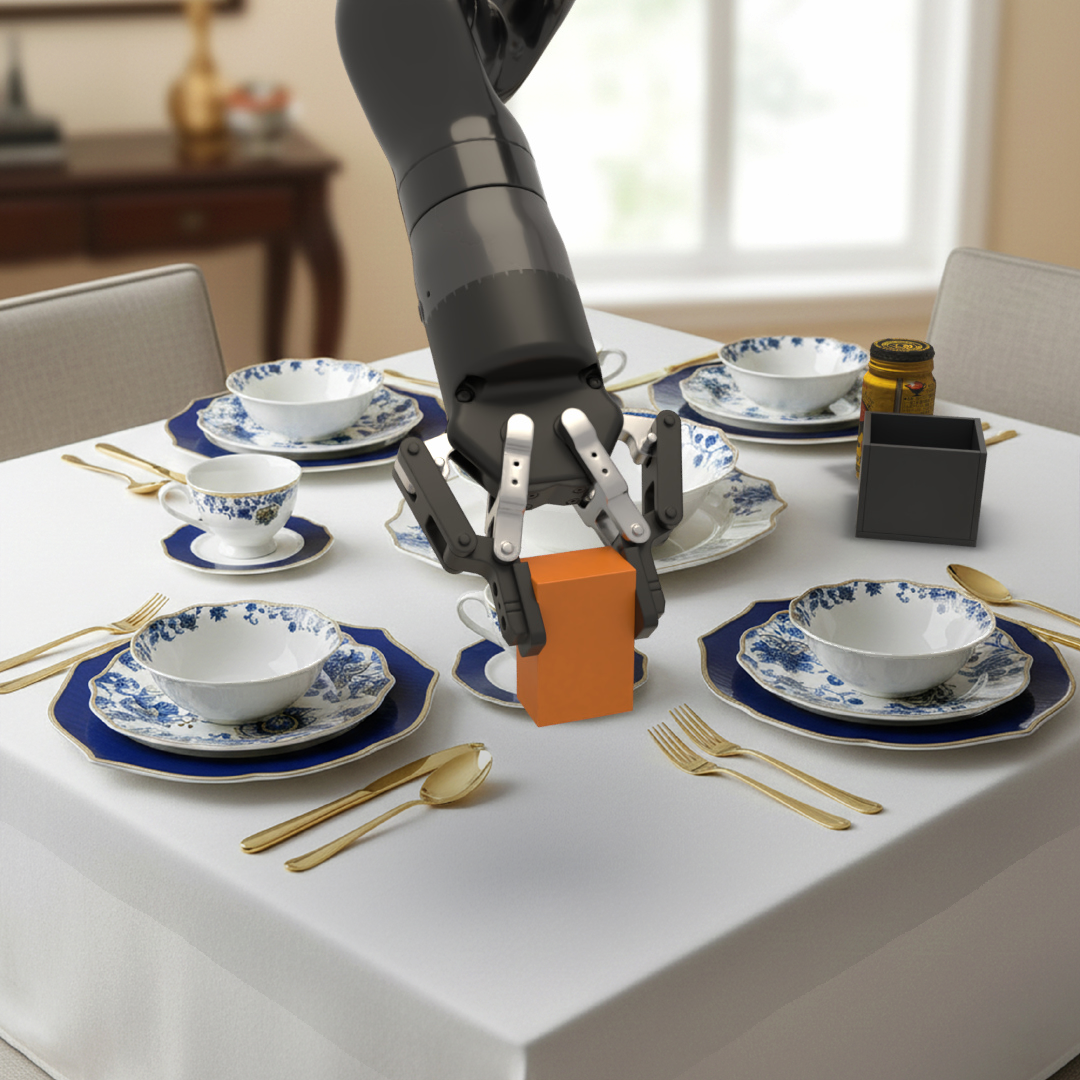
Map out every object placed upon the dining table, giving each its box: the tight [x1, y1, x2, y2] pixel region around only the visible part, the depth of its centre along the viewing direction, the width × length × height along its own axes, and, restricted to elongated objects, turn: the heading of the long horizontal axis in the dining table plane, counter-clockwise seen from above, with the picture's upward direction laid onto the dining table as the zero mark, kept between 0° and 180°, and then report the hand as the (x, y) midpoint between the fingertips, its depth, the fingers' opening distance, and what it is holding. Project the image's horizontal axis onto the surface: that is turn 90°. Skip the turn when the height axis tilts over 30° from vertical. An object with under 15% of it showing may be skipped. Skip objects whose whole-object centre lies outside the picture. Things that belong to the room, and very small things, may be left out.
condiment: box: [855, 337, 937, 481], centre depth 124 cm, size 7×8×12 cm
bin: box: [854, 411, 988, 548], centre depth 115 cm, size 9×9×8 cm
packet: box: [515, 546, 636, 728], centre depth 66 cm, size 3×5×7 cm, turn 109°
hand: (590, 640), depth 64 cm, fingers closed on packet, 4 cm apart
